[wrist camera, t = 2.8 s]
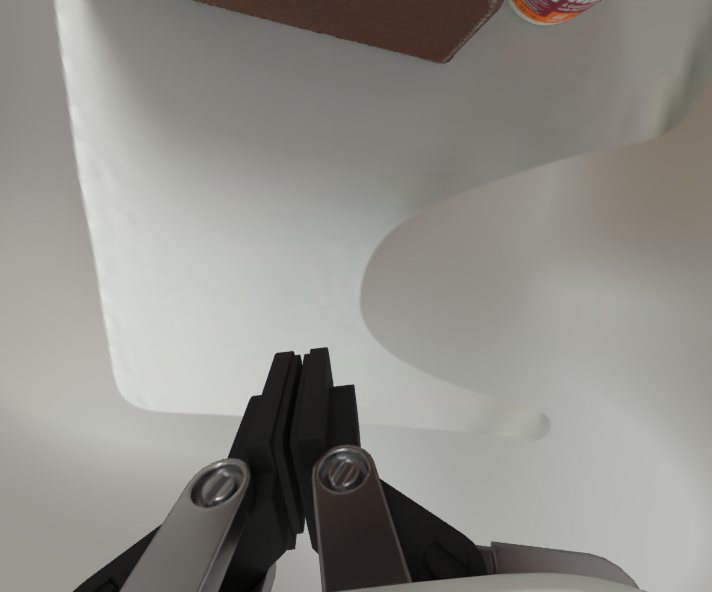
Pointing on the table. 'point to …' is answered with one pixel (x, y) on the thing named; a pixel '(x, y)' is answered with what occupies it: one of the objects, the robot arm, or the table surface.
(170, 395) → the table surface
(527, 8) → the pill bottle
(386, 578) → the robot arm
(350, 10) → the letter holder
